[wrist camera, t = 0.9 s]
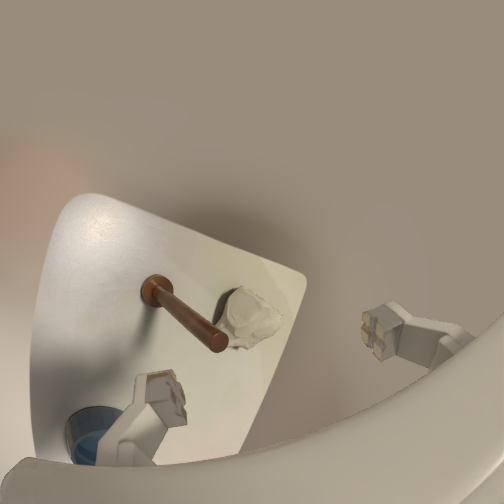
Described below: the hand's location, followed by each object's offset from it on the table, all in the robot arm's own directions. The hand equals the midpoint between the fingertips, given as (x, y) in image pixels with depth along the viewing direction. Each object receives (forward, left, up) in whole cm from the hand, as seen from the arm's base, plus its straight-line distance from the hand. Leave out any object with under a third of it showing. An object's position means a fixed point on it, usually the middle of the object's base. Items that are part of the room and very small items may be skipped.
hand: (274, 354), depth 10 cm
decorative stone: (+22, +1, -29) cm, 36 cm away
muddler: (+7, -2, -28) cm, 29 cm away
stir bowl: (+11, -29, -28) cm, 42 cm away
